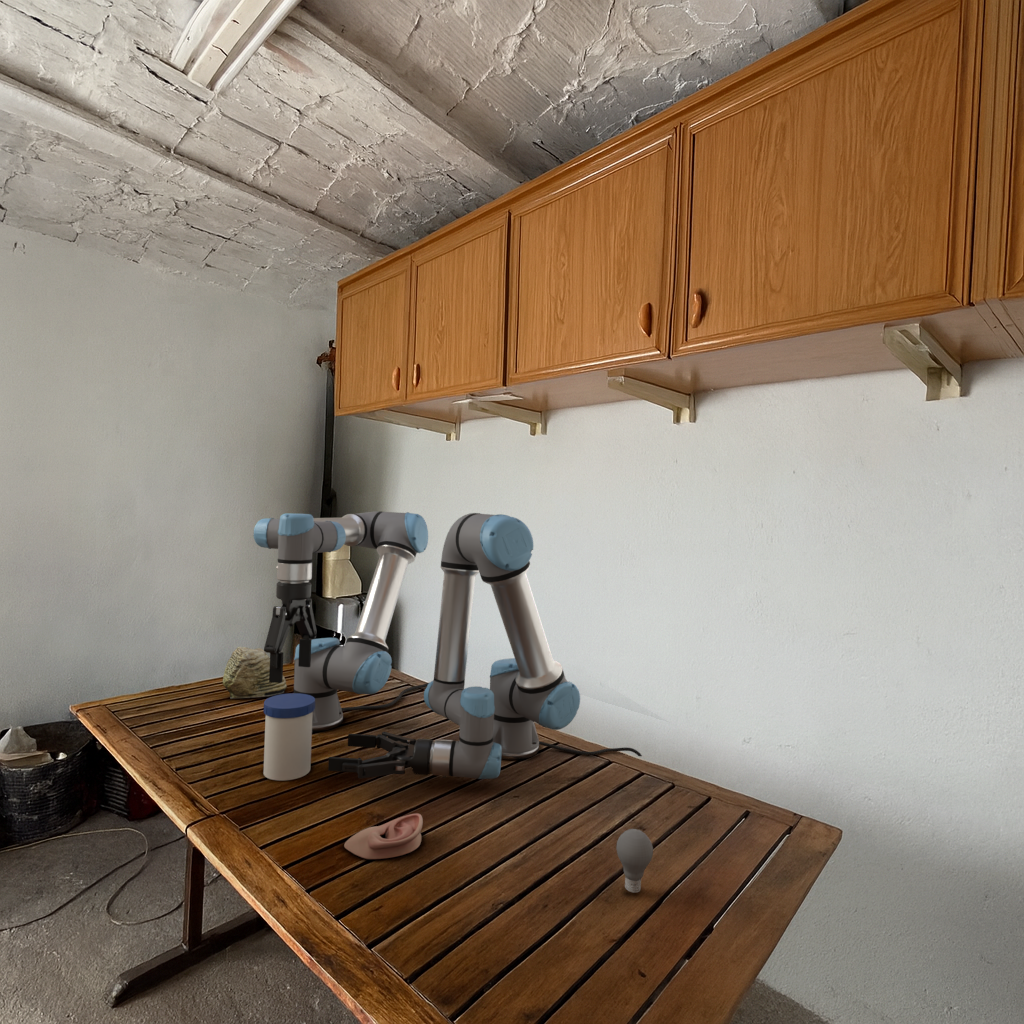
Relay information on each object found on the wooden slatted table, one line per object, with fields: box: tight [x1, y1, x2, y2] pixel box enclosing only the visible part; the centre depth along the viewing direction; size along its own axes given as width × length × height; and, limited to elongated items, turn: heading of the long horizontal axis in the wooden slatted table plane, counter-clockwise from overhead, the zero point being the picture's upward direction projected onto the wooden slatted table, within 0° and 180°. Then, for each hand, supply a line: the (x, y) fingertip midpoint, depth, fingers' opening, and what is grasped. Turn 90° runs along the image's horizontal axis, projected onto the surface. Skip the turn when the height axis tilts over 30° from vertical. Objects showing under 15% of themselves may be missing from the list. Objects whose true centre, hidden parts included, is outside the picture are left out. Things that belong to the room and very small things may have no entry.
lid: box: [262, 692, 315, 718], centre depth 145 cm, size 11×11×2 cm
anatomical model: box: [343, 813, 424, 860], centre depth 117 cm, size 13×4×12 cm
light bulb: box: [615, 828, 654, 894], centre depth 106 cm, size 6×6×10 cm
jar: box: [262, 712, 313, 782], centre depth 145 cm, size 10×10×16 cm
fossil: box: [222, 646, 288, 699], centre depth 198 cm, size 9×18×15 cm, turn 132°
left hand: (290, 674), depth 145 cm, fingers open, 13 cm apart
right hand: (338, 751), depth 143 cm, fingers open, 13 cm apart
